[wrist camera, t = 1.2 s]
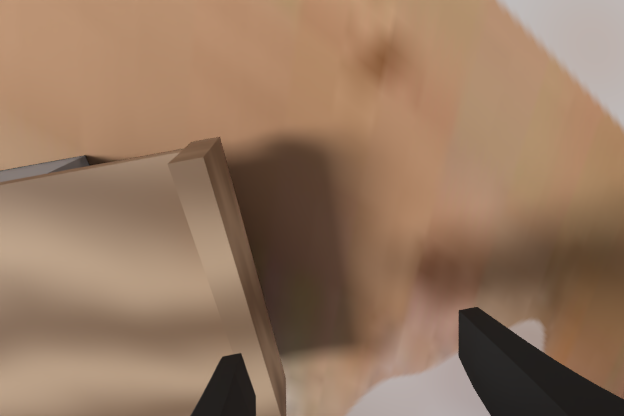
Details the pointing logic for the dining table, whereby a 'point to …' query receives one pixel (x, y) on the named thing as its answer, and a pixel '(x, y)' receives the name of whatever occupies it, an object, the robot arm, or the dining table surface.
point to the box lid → (129, 289)
